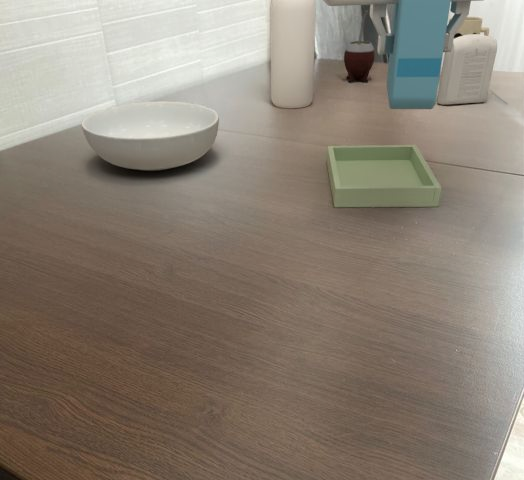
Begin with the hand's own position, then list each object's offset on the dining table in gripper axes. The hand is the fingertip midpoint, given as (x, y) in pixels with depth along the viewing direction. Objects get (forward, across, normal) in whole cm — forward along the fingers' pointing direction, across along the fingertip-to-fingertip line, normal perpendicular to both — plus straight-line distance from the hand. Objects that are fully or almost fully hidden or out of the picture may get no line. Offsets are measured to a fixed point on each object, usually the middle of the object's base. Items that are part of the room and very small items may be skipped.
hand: (413, 52), depth 59 cm
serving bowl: (+18, +34, -22) cm, 45 cm away
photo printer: (+19, -23, -56) cm, 64 cm away
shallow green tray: (+19, 0, -12) cm, 22 cm away
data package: (+5, 0, 0) cm, 5 cm away
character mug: (+19, -26, -74) cm, 81 cm away
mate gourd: (+19, -4, -79) cm, 81 cm away
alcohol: (+19, +12, -58) cm, 62 cm away
